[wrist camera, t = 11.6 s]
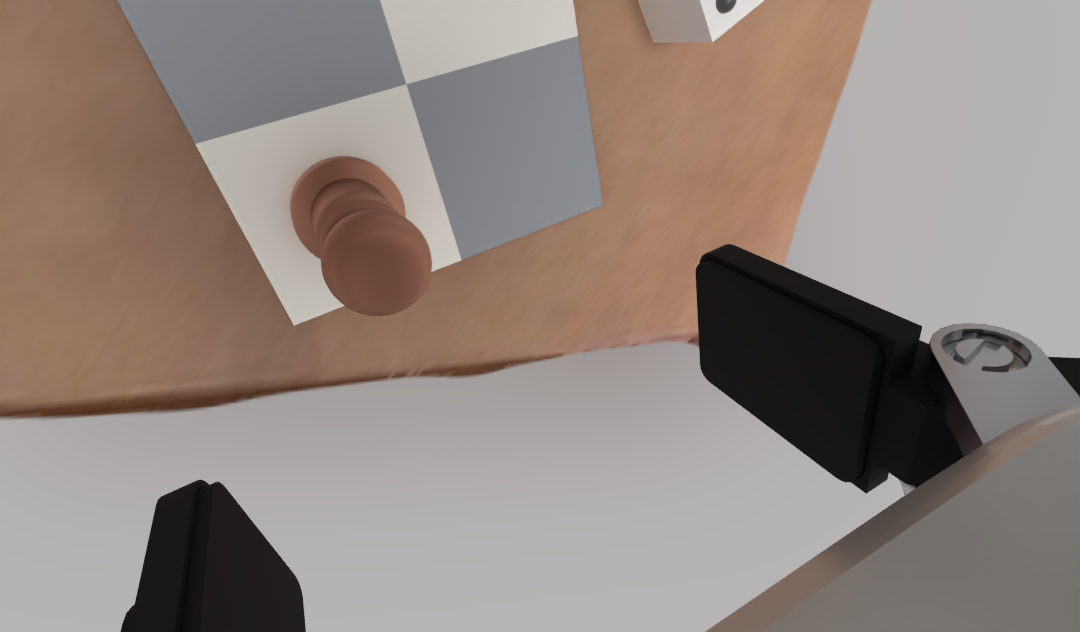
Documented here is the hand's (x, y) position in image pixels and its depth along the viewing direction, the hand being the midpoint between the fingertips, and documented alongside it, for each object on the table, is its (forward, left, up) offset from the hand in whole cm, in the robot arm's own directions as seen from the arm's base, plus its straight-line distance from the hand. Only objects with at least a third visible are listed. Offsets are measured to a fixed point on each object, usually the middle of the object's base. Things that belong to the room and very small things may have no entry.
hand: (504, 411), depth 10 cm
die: (-20, -5, -21) cm, 29 cm away
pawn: (+1, +1, -20) cm, 20 cm away
